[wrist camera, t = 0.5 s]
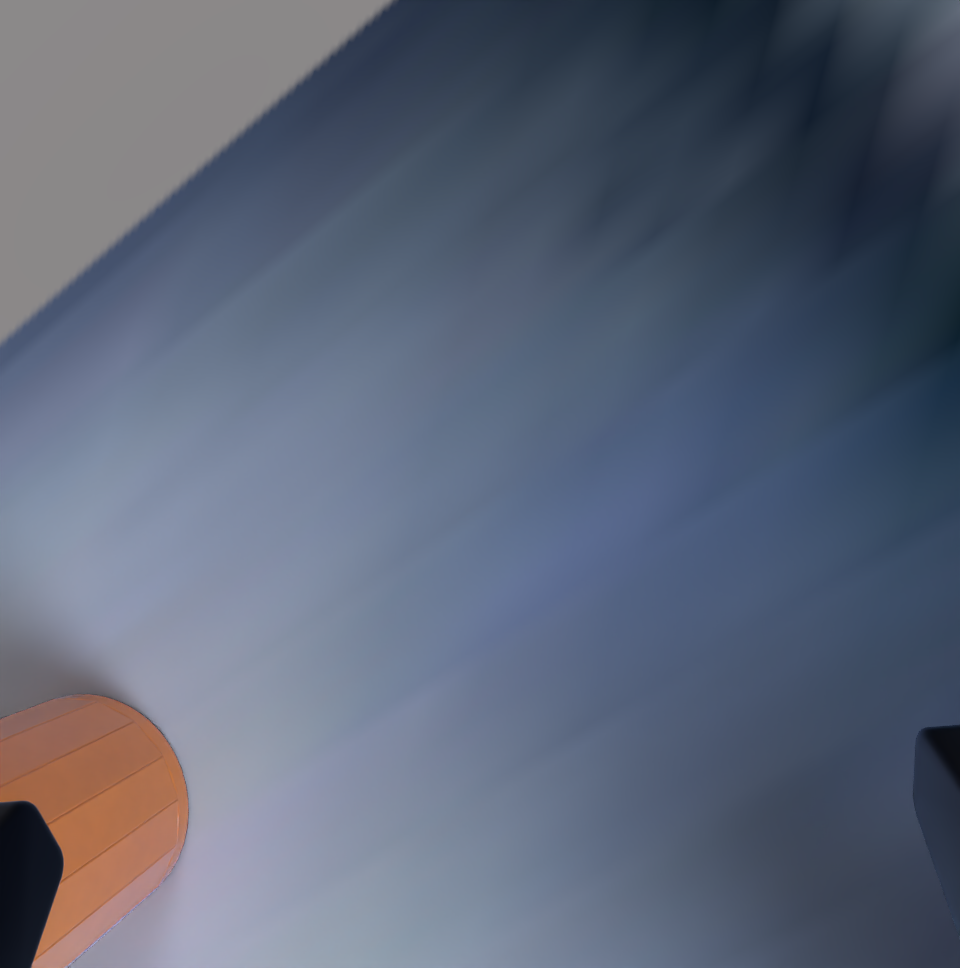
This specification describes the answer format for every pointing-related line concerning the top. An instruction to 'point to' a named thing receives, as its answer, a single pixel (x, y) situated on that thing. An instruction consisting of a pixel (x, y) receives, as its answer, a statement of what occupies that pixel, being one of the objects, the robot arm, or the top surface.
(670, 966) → the top surface
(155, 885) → the tall orange mug
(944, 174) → the top surface
